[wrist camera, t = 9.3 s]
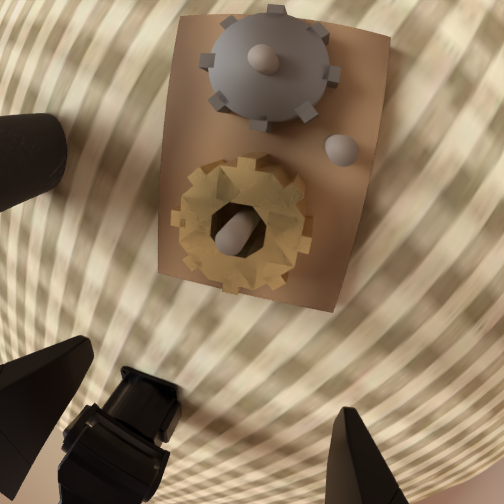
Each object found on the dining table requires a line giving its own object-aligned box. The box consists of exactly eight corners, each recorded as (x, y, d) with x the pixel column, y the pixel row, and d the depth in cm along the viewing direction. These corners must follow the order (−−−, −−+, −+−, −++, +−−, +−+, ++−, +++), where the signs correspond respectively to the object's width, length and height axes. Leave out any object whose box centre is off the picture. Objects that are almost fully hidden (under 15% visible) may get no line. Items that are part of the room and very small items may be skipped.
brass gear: (193, 252, 19) (169, 277, 16) (202, 144, 16) (175, 148, 13) (299, 276, 18) (295, 307, 15) (323, 164, 15) (325, 172, 12)
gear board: (167, 263, 22) (119, 311, 16) (190, 23, 15) (136, -12, 9) (332, 300, 20) (333, 366, 14) (385, 44, 13) (416, 5, 7)
